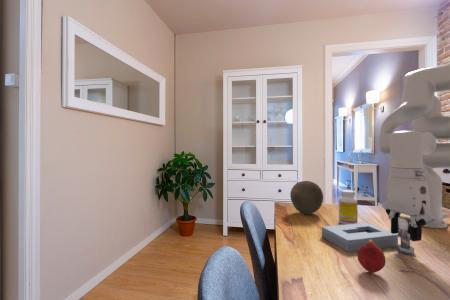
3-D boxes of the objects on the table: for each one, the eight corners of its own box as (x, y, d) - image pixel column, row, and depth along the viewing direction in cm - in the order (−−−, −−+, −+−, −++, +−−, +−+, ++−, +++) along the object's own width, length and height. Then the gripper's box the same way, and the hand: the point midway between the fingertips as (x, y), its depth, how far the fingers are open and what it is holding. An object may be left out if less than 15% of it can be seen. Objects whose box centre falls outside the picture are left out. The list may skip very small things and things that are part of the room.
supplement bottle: (360, 226, 90) (360, 192, 90) (341, 225, 92) (341, 192, 92) (354, 221, 97) (354, 189, 97) (336, 220, 98) (336, 189, 98)
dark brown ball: (288, 209, 115) (288, 178, 115) (318, 210, 113) (318, 179, 113) (292, 218, 101) (292, 183, 101) (327, 219, 99) (327, 183, 99)
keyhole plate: (366, 232, 84) (366, 222, 84) (397, 245, 73) (397, 234, 73) (321, 236, 80) (321, 226, 80) (348, 252, 69) (348, 240, 69)
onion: (386, 282, 53) (386, 247, 53) (356, 275, 56) (356, 241, 56) (384, 270, 58) (385, 238, 58) (358, 264, 61) (358, 234, 61)
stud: (404, 248, 71) (404, 215, 71) (417, 254, 67) (418, 219, 67) (393, 249, 70) (393, 216, 70) (406, 255, 66) (406, 220, 66)
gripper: (449, 177, 61) (449, 247, 61) (389, 170, 77) (389, 226, 78) (427, 178, 59) (426, 250, 59) (370, 171, 76) (370, 228, 76)
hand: (405, 236), depth 68 cm, fingers open, 5 cm apart
